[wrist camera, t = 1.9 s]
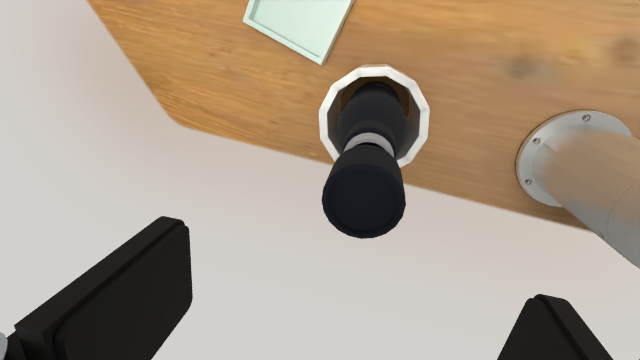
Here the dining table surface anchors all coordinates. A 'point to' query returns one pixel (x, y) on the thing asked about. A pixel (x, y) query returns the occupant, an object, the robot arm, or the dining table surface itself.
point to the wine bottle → (368, 164)
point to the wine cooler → (415, 119)
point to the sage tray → (300, 23)
